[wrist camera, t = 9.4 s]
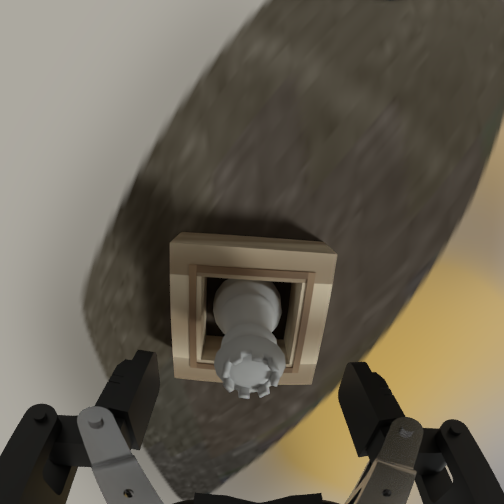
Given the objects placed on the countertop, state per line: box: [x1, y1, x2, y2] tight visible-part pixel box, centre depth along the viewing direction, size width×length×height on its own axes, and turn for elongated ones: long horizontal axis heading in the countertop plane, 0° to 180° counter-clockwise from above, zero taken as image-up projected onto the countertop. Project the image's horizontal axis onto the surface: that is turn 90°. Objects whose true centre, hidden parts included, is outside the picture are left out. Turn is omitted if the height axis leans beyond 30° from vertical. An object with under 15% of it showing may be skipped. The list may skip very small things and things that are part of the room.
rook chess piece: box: [213, 279, 286, 399], centre depth 16 cm, size 4×4×8 cm
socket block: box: [170, 232, 337, 385], centre depth 18 cm, size 9×9×3 cm
